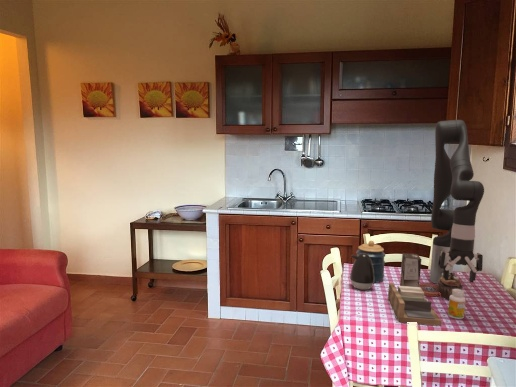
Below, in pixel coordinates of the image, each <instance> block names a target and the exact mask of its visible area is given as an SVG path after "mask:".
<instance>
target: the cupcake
mask: <svg viewBox="0 0 516 387" xmlns="http://www.w3.org/2000/svg"><path fill="white" fill-rule="evenodd" d="M449 274H450V275H449V278H448V281H446V280H445V279H444V278H443V273H442V277H441V278H440V280H439V281H438V283H437V284H436V285H437V288H438V293H439V292H440V293H441V297H440V298H442V299H444V298H445V300H448V301H449V297H450V295H452V289H460V290H463V289H464V286H463V285H462V281H461V280H460V278H459V276H457V275H456V273H455V272H453V273H449Z"/></svg>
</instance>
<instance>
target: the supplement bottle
mask: <svg viewBox="0 0 516 387" xmlns="http://www.w3.org/2000/svg"><path fill="white" fill-rule="evenodd" d="M466 303H467V302H466V297H465V290H463V289H462V290H460V289H452V295H450V297H449V300H448V307H447V308H448V309H447V310H448V311H447V316H448V317H450V318H451V319H456V320H462V319H464V317H465V312H466V311H465V310H466Z"/></svg>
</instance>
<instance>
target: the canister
mask: <svg viewBox="0 0 516 387" xmlns="http://www.w3.org/2000/svg"><path fill="white" fill-rule="evenodd" d="M357 248H358V249H357V250H356V251H355V253H356V256H358V255H359V254H361V253H366V254H368V255H369V257H370V259H371V261H372V264H373V268H374V275H375V281H374V282H373V283H381V282H383V281H384V278H385V263H386V261H385V257H386V253H385V252H384V250H385V249H384V247H382V246H381V245H380V244H375V241H374V240H369V241H368V243H363V244H361V245H359V246H358V247H357Z"/></svg>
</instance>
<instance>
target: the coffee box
mask: <svg viewBox="0 0 516 387" xmlns="http://www.w3.org/2000/svg"><path fill="white" fill-rule="evenodd" d="M400 267H401V268H400V282H399V286H408V287H420V280H421V279H420V278H421V267H422V258H421V257H420V255H419V254H418V253H405V252H402V254H401V266H400Z"/></svg>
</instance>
